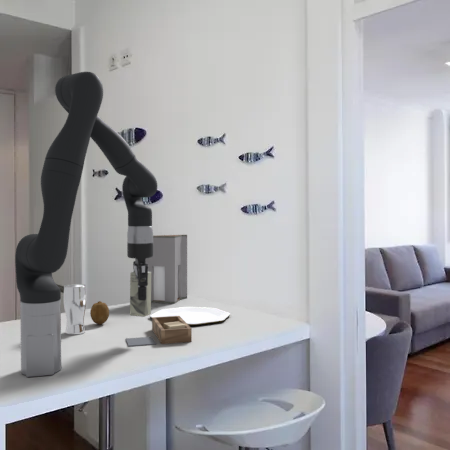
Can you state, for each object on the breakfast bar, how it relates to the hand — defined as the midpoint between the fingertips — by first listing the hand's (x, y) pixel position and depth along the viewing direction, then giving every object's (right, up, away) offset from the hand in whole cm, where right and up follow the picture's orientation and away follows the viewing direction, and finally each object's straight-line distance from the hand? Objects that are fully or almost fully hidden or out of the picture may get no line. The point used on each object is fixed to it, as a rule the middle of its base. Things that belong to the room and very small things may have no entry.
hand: (140, 297), depth 146 cm
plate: (+12, -13, +34) cm, 38 cm away
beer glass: (-23, -13, +11) cm, 28 cm away
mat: (0, -13, +1) cm, 13 cm away
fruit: (-18, -13, +22) cm, 31 cm away
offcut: (+10, -11, +4) cm, 15 cm away
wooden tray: (+8, -13, +8) cm, 17 cm away
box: (0, -5, 0) cm, 5 cm away
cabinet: (+1, -11, +64) cm, 64 cm away
